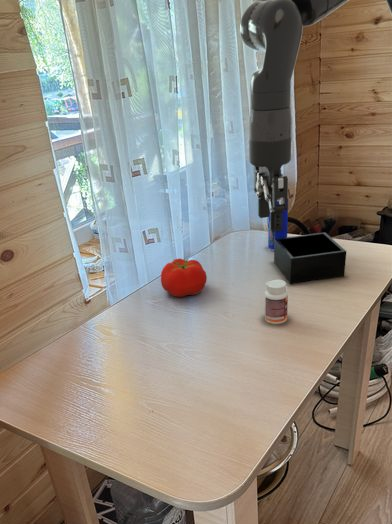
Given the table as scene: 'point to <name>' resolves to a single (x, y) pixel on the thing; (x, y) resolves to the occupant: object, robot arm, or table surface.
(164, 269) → the tomato
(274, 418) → the table surface
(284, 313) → the pill bottle
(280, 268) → the black storage bin
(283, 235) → the blue cylindrical container
